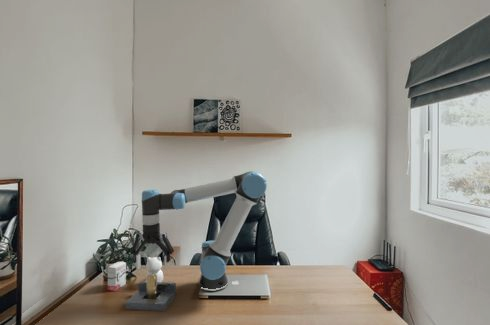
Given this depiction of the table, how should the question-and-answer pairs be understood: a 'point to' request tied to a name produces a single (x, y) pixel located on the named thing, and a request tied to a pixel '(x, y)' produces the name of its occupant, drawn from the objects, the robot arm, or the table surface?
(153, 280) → the sleeve
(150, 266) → the cat figurine
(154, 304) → the jig
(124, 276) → the ink box
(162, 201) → the robot arm
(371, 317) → the table surface
